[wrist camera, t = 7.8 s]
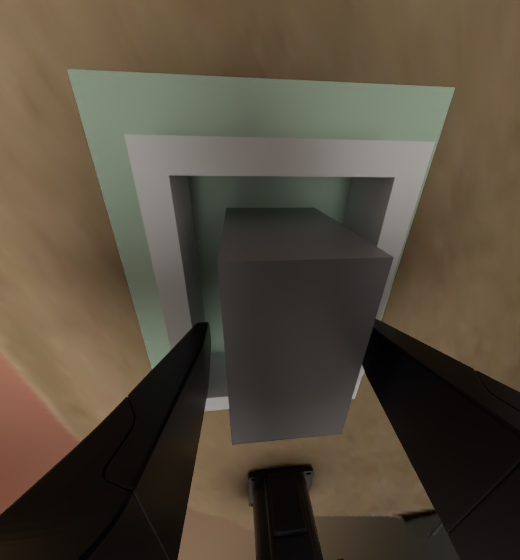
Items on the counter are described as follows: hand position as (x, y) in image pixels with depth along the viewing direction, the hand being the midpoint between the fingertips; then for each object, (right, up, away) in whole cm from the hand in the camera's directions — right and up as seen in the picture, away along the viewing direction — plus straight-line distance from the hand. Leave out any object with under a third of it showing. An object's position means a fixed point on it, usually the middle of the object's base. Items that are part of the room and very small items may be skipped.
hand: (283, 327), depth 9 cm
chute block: (0, +2, +4) cm, 4 cm away
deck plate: (-1, +2, +4) cm, 5 cm away
